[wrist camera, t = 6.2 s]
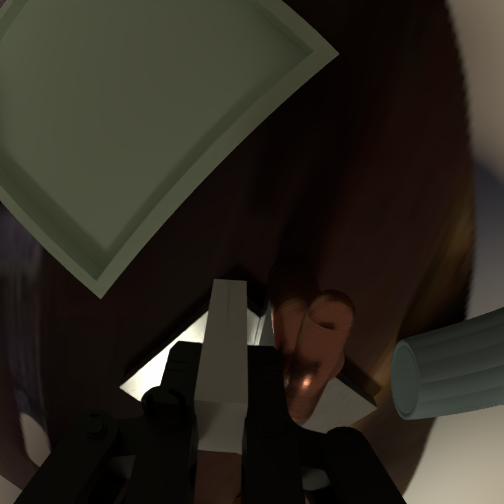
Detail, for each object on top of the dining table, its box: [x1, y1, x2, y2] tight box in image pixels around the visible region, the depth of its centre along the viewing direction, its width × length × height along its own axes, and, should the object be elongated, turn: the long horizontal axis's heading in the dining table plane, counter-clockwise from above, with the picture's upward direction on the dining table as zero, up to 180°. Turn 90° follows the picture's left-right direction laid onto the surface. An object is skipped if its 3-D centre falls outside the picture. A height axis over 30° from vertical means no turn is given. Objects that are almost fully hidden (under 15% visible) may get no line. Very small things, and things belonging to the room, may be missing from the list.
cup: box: [391, 307, 504, 420], centre depth 17 cm, size 8×8×10 cm
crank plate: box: [119, 297, 377, 455], centre depth 21 cm, size 12×16×1 cm
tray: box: [0, 0, 339, 299], centre depth 12 cm, size 17×17×2 cm
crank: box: [254, 258, 356, 423], centre depth 15 cm, size 16×5×7 cm, turn 170°
